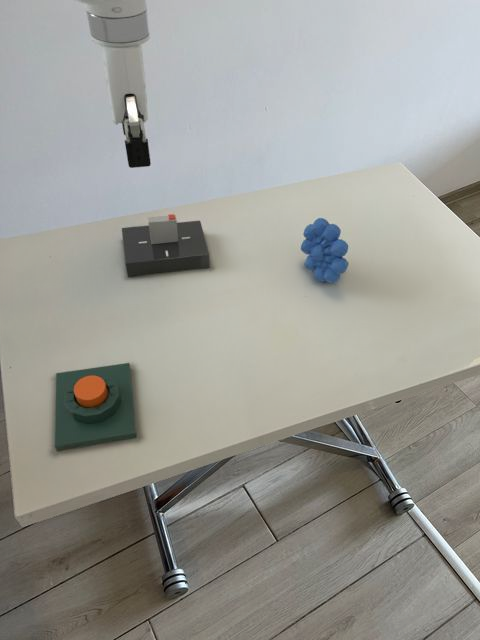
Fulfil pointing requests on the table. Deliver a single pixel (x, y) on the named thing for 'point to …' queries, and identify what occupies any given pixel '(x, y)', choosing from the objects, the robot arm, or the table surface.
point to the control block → (94, 409)
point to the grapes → (324, 251)
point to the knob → (163, 229)
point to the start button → (90, 391)
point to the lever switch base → (165, 250)
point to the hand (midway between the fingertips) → (136, 149)
